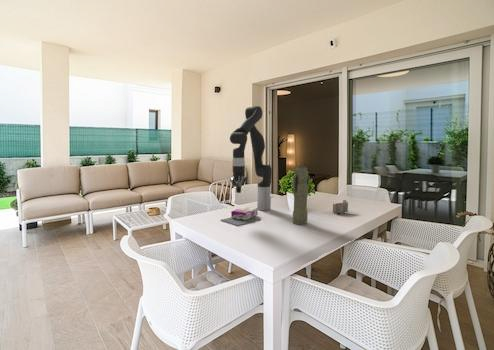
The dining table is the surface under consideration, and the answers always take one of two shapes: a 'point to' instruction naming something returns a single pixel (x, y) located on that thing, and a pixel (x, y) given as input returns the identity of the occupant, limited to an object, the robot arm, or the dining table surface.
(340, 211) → the architectural model on board
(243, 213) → the candy bar box
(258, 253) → the dining table surface
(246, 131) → the robot arm
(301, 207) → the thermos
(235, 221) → the mat
